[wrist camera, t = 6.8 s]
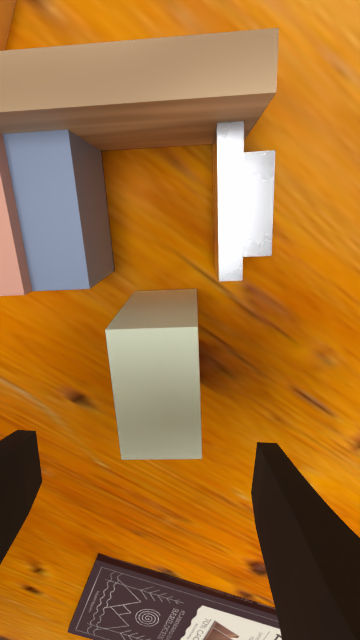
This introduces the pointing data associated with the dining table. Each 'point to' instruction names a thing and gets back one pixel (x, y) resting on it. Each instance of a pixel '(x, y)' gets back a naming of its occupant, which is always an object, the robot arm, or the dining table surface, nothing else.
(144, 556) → the dining table surface
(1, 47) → the picture frame
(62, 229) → the shelved books
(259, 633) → the chocolate bar
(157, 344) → the beige rectangular block
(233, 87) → the shelf wall
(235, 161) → the bookend
